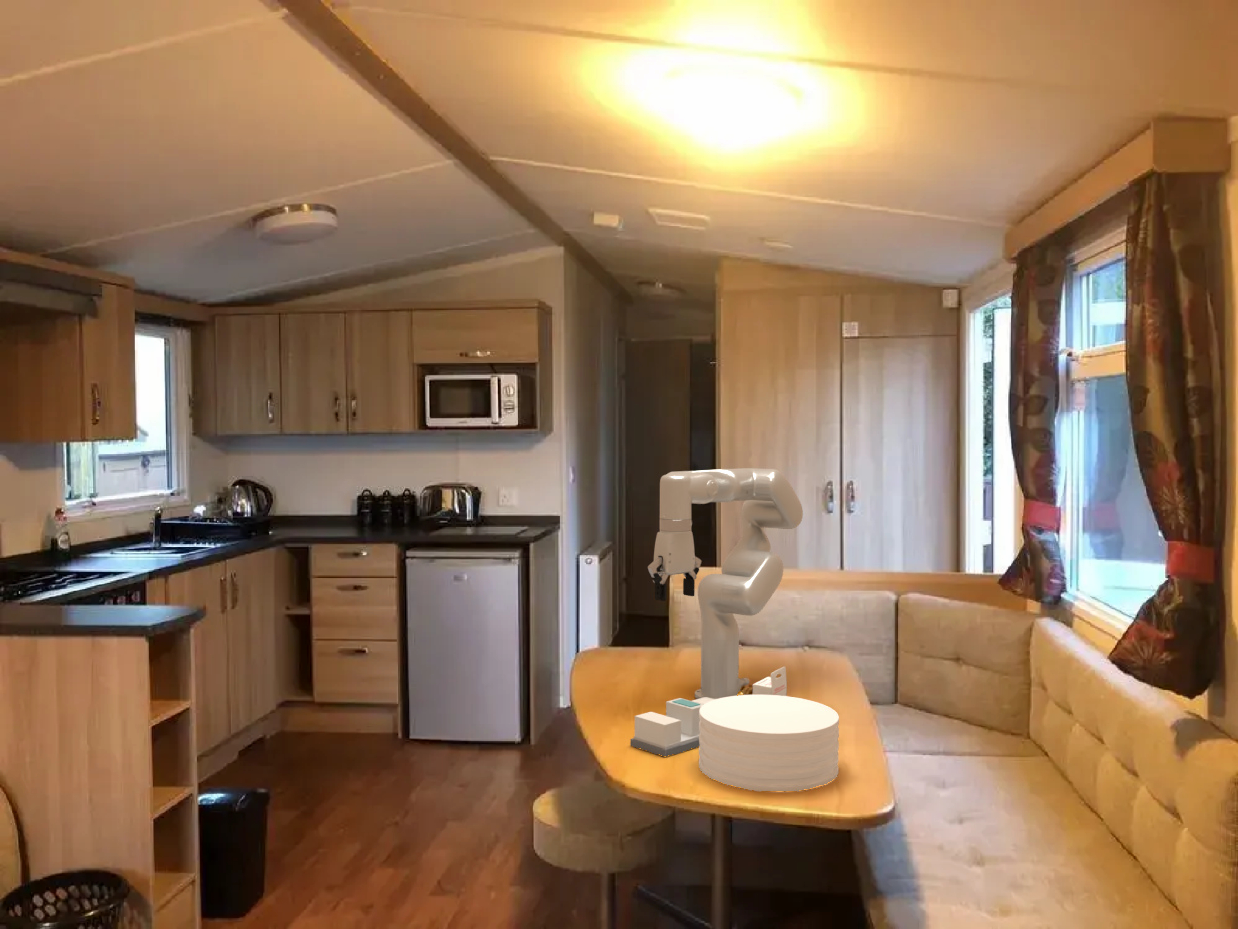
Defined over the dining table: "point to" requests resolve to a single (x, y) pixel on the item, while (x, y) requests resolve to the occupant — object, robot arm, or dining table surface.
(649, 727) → the rail board
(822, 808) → the dining table surface
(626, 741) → the dining table surface
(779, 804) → the dining table surface
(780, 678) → the ink cartridge box
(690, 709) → the block
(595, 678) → the dining table surface
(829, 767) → the plate stack
